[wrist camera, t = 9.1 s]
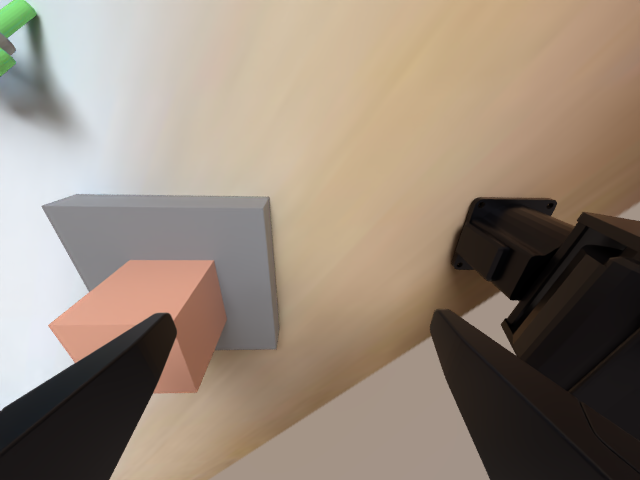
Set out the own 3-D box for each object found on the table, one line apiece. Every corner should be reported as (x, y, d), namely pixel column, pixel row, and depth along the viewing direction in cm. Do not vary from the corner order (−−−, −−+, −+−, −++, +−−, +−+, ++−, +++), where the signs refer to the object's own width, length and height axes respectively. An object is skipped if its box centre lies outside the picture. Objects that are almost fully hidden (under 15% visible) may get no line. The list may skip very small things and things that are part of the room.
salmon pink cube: (214, 260, 17) (171, 324, 12) (227, 319, 20) (197, 392, 15) (129, 260, 17) (48, 325, 12) (154, 320, 20) (97, 394, 15)
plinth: (269, 196, 18) (263, 208, 16) (279, 328, 24) (276, 349, 22) (76, 194, 17) (41, 205, 15) (139, 329, 24) (122, 351, 22)
